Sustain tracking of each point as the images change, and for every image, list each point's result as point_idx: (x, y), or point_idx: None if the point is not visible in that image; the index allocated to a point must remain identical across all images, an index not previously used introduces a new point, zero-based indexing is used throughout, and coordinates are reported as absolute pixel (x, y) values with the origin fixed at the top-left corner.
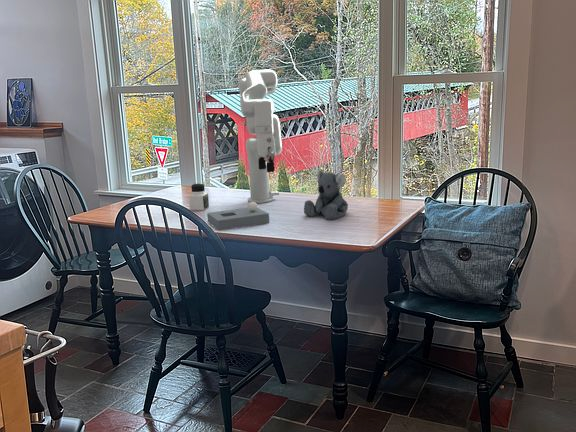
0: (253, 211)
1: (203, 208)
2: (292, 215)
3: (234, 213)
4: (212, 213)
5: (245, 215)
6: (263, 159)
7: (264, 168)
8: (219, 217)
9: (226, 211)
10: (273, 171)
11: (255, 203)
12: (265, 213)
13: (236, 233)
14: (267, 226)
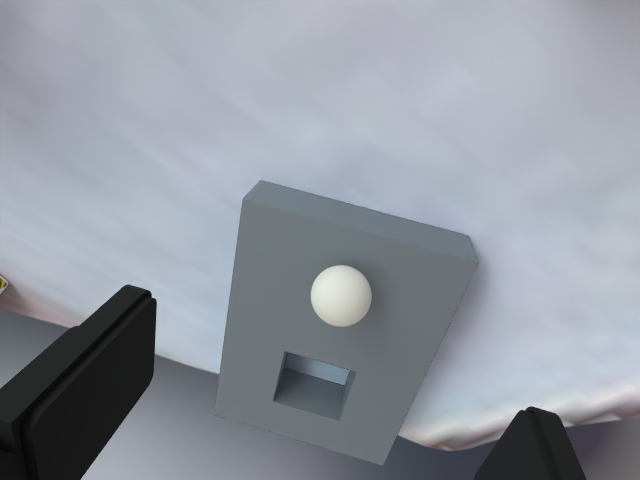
0: None
1: (1, 289)
2: (448, 5)
3: (308, 356)
4: (239, 409)
5: (402, 359)
6: (9, 475)
7: (152, 320)
8: (335, 435)
9: (247, 359)
10: (548, 422)
11: (359, 302)
12: (460, 273)
13: (488, 422)
14: (522, 286)
